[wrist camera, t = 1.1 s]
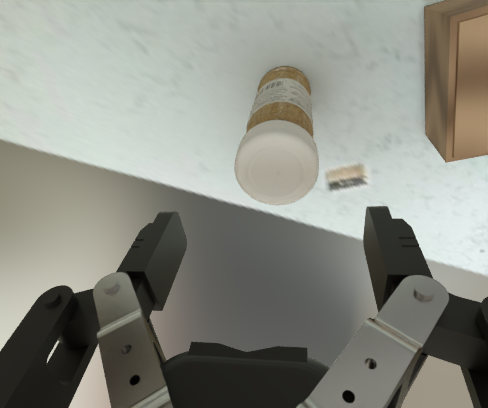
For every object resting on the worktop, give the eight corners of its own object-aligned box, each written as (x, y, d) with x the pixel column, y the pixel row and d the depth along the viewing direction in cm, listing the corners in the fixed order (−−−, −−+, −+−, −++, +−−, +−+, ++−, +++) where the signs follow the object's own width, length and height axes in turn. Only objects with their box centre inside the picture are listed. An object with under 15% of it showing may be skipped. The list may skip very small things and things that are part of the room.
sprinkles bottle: (265, 122, 30) (246, 214, 19) (251, 72, 27) (220, 145, 17) (315, 110, 29) (326, 201, 18) (305, 57, 26) (310, 124, 15)
